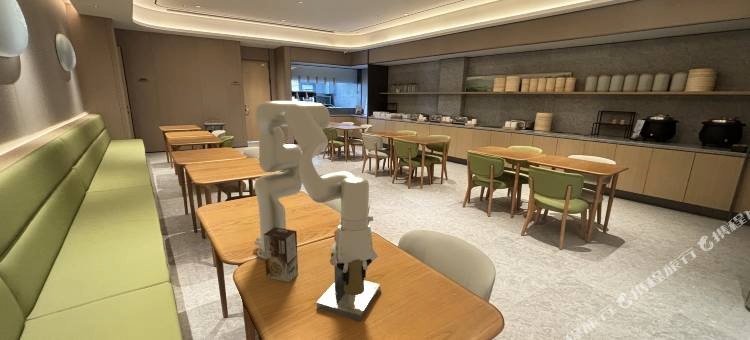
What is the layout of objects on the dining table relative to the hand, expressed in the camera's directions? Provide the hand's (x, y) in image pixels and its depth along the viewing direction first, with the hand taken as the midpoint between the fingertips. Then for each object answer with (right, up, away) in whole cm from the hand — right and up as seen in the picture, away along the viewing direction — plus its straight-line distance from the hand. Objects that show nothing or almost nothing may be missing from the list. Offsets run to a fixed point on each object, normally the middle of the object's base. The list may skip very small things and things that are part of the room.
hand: (353, 280), depth 91 cm
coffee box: (-26, -5, +18) cm, 32 cm away
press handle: (-3, 0, +10) cm, 10 cm away
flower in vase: (-5, -1, +35) cm, 36 cm away
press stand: (-2, -8, +7) cm, 11 cm away
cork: (0, -3, +1) cm, 3 cm away
